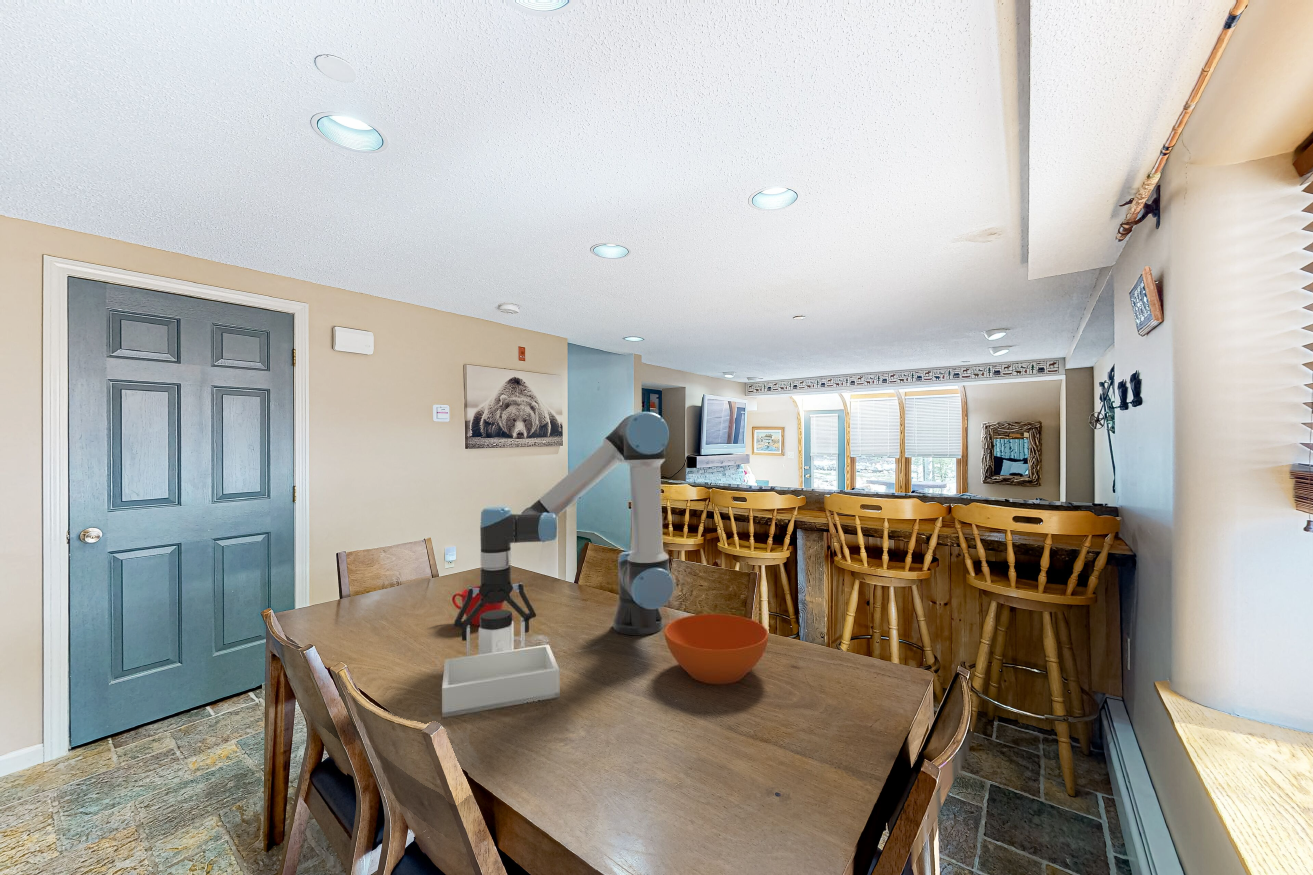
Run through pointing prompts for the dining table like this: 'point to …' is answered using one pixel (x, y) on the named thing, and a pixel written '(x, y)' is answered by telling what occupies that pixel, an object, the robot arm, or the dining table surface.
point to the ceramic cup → (474, 602)
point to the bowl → (716, 646)
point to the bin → (499, 680)
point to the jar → (496, 631)
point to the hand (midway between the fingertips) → (496, 648)
